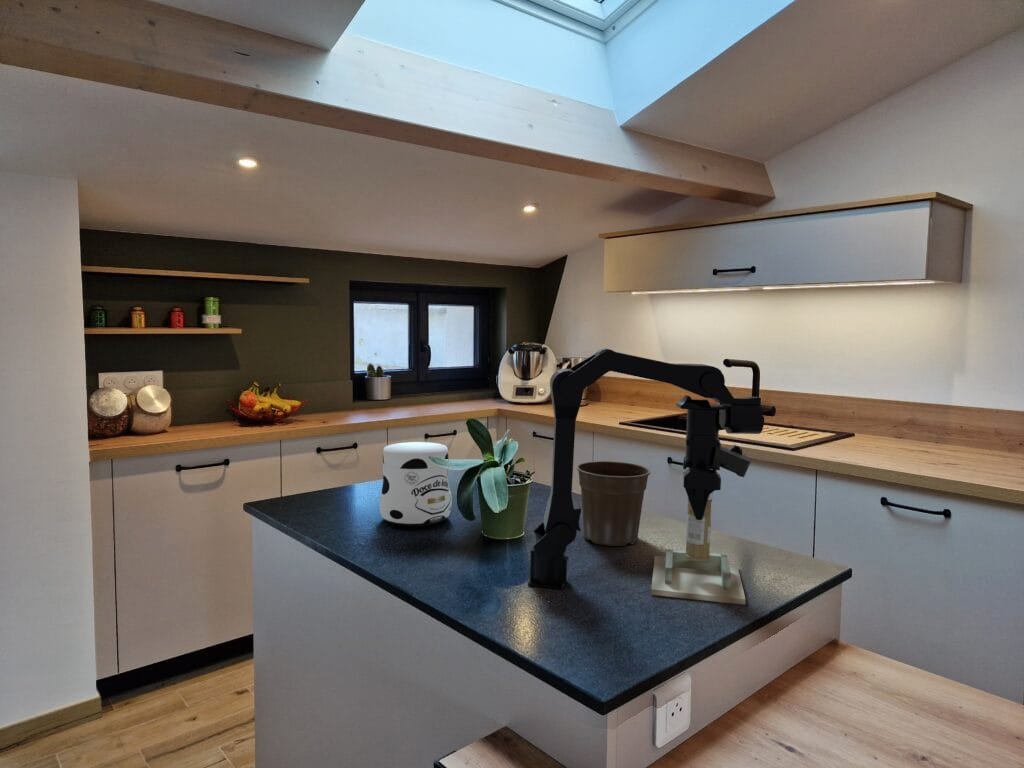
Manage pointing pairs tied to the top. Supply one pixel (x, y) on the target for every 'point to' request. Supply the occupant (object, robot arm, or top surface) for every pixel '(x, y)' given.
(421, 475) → the doce de leite jar
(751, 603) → the top surface
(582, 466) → the plant pot
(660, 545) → the top surface
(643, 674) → the top surface
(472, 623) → the top surface
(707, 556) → the sprinkles bottle
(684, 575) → the u rest
